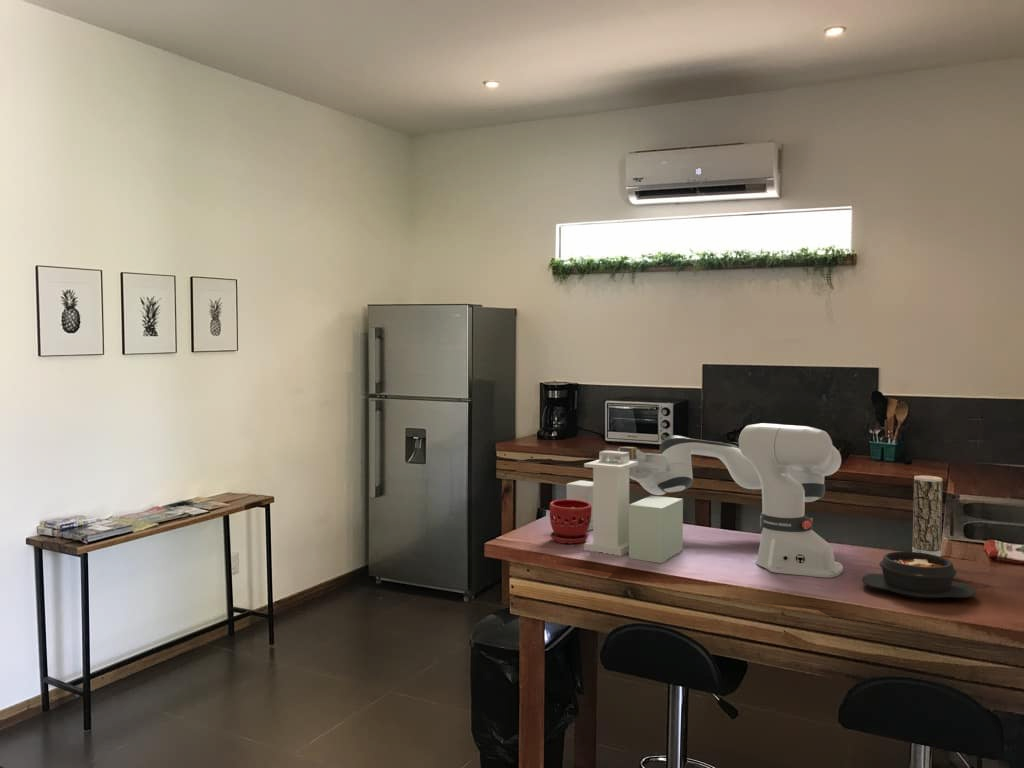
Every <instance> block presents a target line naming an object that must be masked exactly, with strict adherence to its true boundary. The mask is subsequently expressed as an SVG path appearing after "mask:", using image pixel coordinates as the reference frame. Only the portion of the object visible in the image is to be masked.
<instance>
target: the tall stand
mask: <svg viewBox="0 0 1024 768" xmlns="http://www.w3.org/2000/svg"><path fill="white" fill-rule="evenodd" d="M598 454H599V456H598V459H596V460H593V461H590V462H585V463H583V468H592V475H593V476H592V477H593V478H592V480H593V481H592V482H593V529H592V530H593V531H592V533H593V535H592V539H591V540H589V541H587V542H585V543H583V545H584V547H583V549H584V551H586V550H591V551H590V552H593V551H597V552H596V553H599V552H603V553H602V554H606V553H610V554H609V555H612V554H614V556H619V557H620V556H624V555H626V554H627V553H629V504H630V478H629V468H630V467H633V466H636V465H638V461H629V452H619V451H618V450H610V451H609V450H607V449H605V450H602V451H599V453H598ZM608 456H614V457H621V461H615V462H611V461H609V459H608Z"/></svg>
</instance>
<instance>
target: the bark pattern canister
mask: <svg viewBox="0 0 1024 768" xmlns="http://www.w3.org/2000/svg"><path fill="white" fill-rule="evenodd" d="M912 506H913V510H912V512H913V513H912V514H913V517H912V552H918V553H925V554H931V555H935V556H939V557H942V524H943V523H942V519H943V514H942V513H943V478H942V477H940V476H933V475H914V478H913V505H912Z"/></svg>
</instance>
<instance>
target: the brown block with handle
mask: <svg viewBox="0 0 1024 768" xmlns="http://www.w3.org/2000/svg"><path fill="white" fill-rule="evenodd" d="M619 448H620V452H629V460H633V459H637V457H635V455H634V450H638V447H636V446H635V447H634V446H619ZM609 461H611V462H615V461H621V457H614V456H609Z"/></svg>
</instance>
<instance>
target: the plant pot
mask: <svg viewBox="0 0 1024 768" xmlns="http://www.w3.org/2000/svg"><path fill="white" fill-rule="evenodd" d="M571 507H575V508H571ZM591 511H592V506H591V504H590V503H588V502H585V501H580V500H567V499H555V500H552V501H551V502H549V522H550V526H551V528H552V532H551V533H550V538H551V539H552V540H554V541H555V542H557V543H559V544H565V543H568V544H567V545H574V544H573V543H576V544H581V543H583V542H586V541H587V539H588V538H589V534H588V533H587V532H588V531H587V530H588V528H589V525H590V520H591ZM582 518H583V520H582Z"/></svg>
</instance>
